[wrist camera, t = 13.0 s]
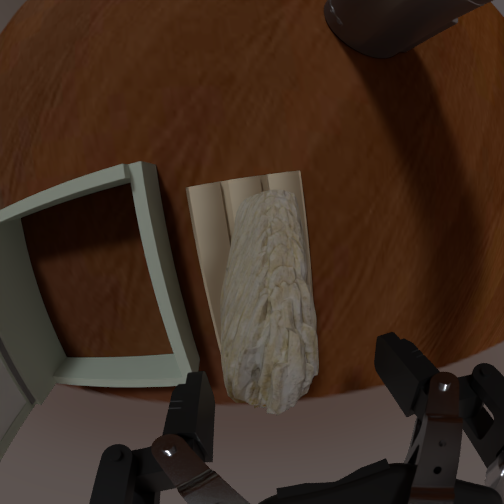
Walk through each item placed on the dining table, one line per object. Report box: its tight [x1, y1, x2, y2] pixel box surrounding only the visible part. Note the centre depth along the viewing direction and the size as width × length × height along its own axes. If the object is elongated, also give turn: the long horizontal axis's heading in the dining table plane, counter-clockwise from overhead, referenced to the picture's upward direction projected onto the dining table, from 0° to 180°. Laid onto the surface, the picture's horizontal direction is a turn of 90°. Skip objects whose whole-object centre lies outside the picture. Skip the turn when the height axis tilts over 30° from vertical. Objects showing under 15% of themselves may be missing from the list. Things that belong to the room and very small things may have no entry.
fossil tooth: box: [220, 190, 319, 415], centre depth 17 cm, size 12×6×15 cm
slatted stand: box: [186, 171, 313, 353], centre depth 23 cm, size 9×17×2 cm, turn 8°
